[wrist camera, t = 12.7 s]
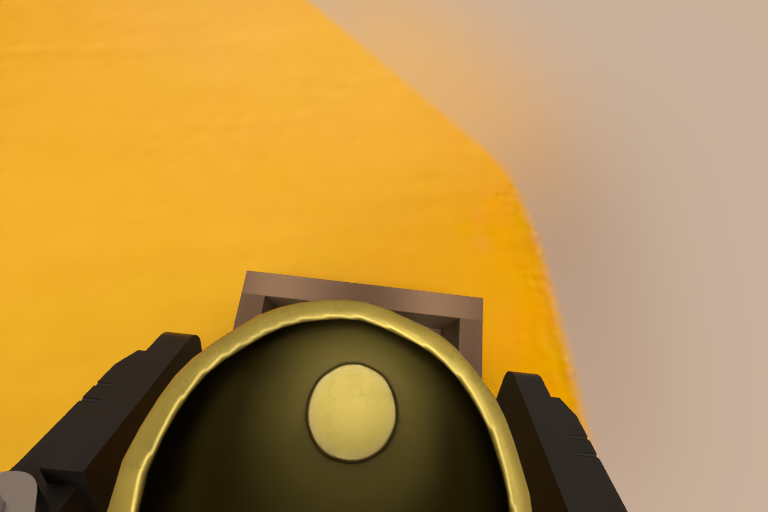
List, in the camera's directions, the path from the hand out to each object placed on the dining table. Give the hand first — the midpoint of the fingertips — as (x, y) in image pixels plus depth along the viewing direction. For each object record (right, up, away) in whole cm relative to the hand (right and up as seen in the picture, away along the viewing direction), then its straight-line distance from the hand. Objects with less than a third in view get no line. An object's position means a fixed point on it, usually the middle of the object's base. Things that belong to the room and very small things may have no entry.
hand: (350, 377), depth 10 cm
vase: (-1, -4, +8) cm, 10 cm away
